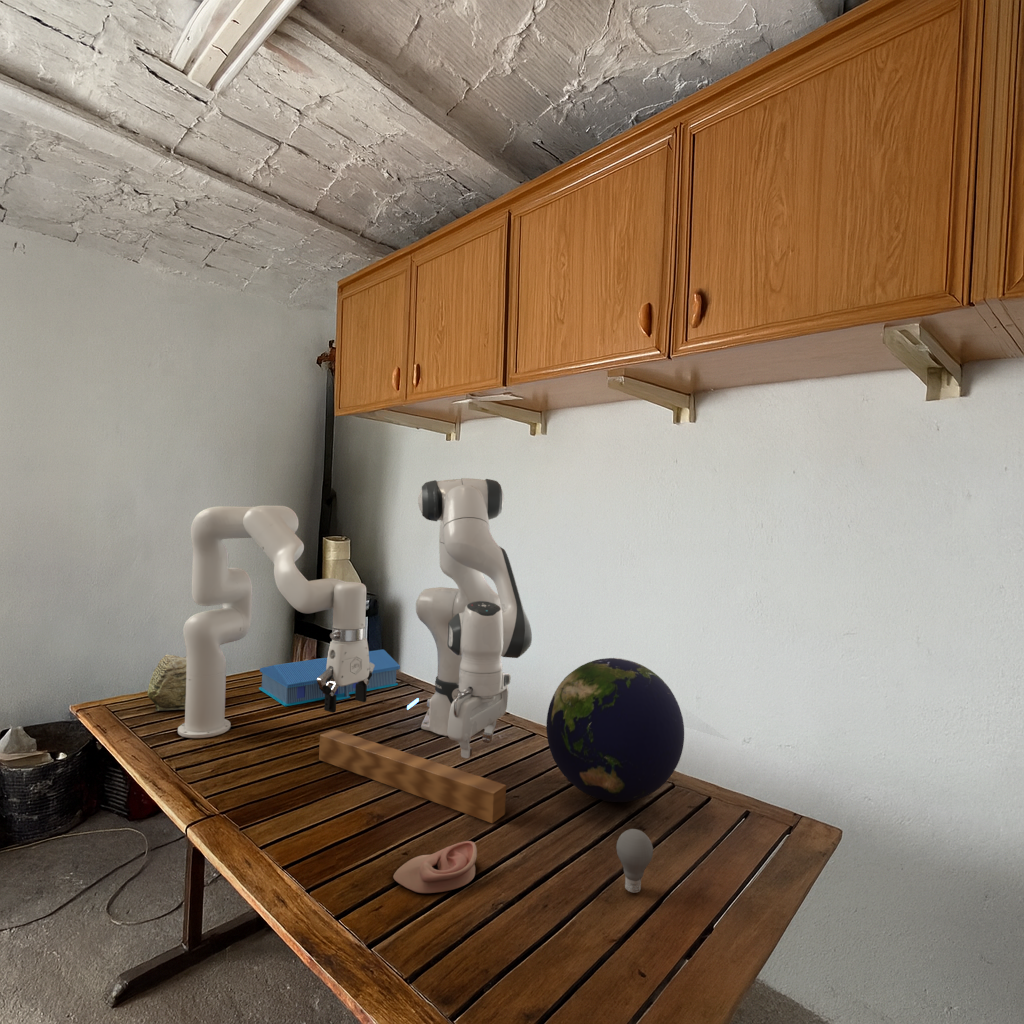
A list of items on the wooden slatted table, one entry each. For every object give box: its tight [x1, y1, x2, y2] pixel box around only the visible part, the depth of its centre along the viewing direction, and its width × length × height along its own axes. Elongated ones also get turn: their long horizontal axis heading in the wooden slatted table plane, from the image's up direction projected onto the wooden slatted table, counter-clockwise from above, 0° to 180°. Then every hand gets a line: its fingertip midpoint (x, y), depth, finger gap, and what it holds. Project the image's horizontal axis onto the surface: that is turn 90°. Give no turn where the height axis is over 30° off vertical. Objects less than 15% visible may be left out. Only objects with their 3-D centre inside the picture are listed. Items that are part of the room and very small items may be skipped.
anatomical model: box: [392, 840, 478, 894], centre depth 108 cm, size 13×4×12 cm
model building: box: [258, 649, 401, 707], centre depth 208 cm, size 39×24×10 cm, turn 132°
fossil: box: [147, 654, 187, 712], centre depth 185 cm, size 9×18×15 cm, turn 132°
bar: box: [318, 729, 507, 824], centre depth 141 cm, size 50×5×6 cm, turn 58°
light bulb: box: [615, 828, 654, 894], centre depth 106 cm, size 6×6×10 cm
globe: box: [545, 657, 685, 803], centre depth 140 cm, size 30×30×30 cm
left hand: (345, 705), depth 151 cm, fingers open, 9 cm apart
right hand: (477, 749), depth 130 cm, fingers open, 8 cm apart
